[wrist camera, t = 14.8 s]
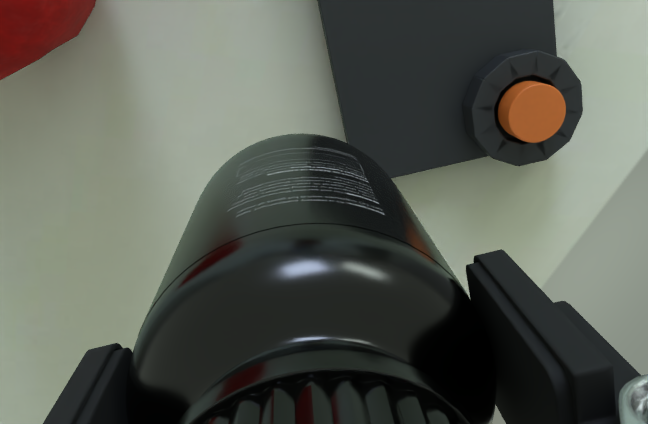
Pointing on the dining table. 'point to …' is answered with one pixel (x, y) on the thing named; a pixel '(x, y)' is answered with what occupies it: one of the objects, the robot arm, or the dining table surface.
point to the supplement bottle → (309, 304)
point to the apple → (37, 29)
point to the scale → (442, 78)
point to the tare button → (532, 111)
